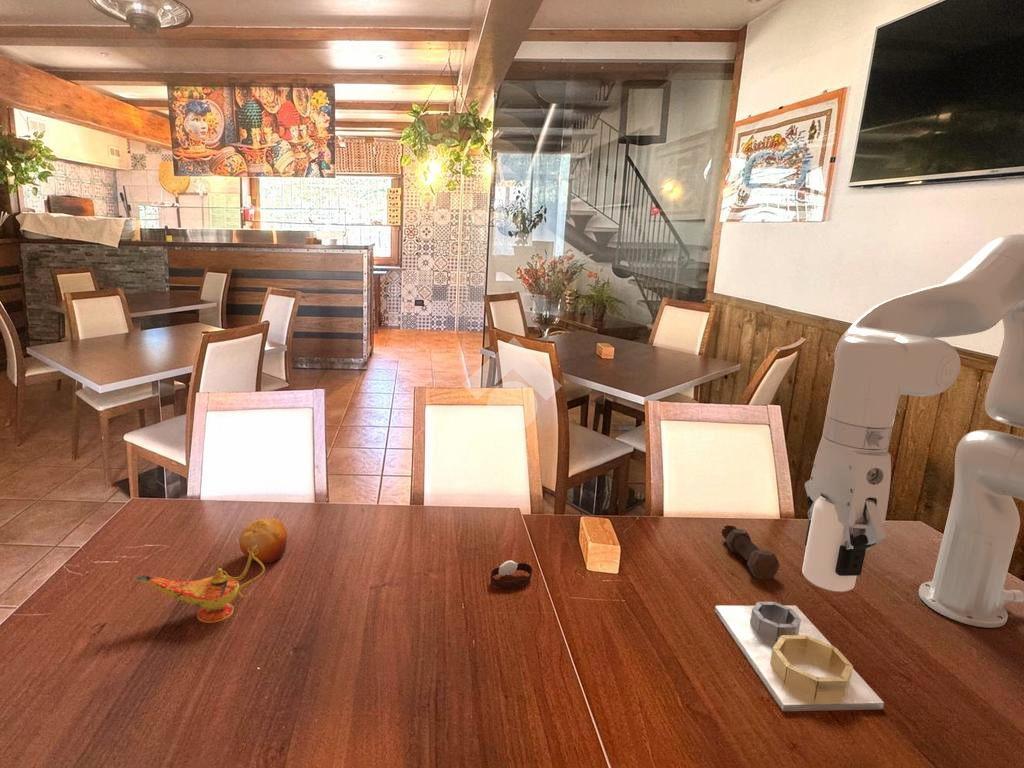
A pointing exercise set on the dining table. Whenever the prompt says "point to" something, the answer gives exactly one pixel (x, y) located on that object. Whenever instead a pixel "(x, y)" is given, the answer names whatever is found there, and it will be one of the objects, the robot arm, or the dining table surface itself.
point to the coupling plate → (796, 659)
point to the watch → (508, 569)
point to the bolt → (751, 553)
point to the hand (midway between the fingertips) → (831, 559)
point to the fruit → (264, 539)
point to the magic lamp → (206, 591)
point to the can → (826, 548)
